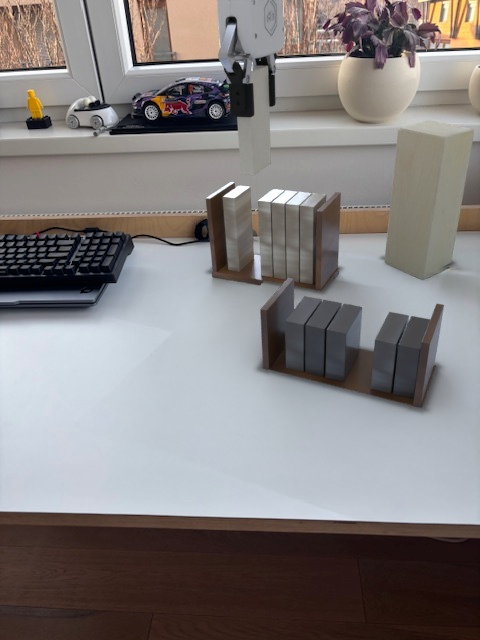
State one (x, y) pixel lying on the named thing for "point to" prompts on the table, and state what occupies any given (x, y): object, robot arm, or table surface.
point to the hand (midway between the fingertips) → (253, 109)
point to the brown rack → (274, 236)
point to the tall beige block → (427, 196)
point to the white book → (256, 127)
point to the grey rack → (349, 347)
